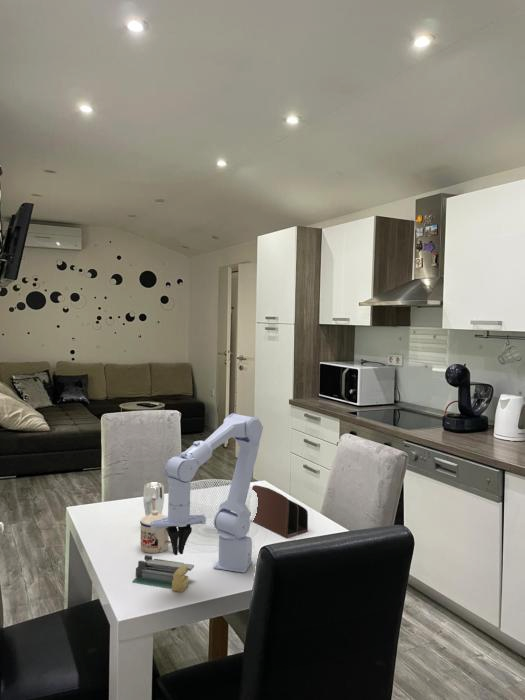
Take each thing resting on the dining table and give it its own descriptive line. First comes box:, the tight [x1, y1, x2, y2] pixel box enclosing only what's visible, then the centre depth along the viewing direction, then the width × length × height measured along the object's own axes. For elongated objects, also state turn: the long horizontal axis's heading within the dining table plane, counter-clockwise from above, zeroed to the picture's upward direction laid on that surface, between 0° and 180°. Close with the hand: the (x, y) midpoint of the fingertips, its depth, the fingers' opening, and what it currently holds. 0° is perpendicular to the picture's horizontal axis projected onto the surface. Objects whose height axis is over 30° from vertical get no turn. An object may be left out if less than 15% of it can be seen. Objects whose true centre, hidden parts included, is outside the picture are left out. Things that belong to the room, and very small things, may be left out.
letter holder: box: [251, 484, 309, 539], centre depth 195 cm, size 10×20×14 cm, turn 39°
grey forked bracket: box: [135, 554, 153, 578], centre depth 156 cm, size 3×5×4 cm, turn 165°
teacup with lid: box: [139, 510, 171, 554], centre depth 173 cm, size 12×9×12 cm
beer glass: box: [142, 481, 165, 516], centre depth 190 cm, size 7×7×15 cm
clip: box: [171, 566, 189, 593], centre depth 148 cm, size 3×5×5 cm, turn 165°
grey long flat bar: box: [143, 558, 195, 572], centre depth 154 cm, size 15×2×1 cm, turn 75°
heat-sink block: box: [132, 558, 188, 590], centre depth 155 cm, size 12×11×3 cm
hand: (177, 553), depth 148 cm, fingers closed
